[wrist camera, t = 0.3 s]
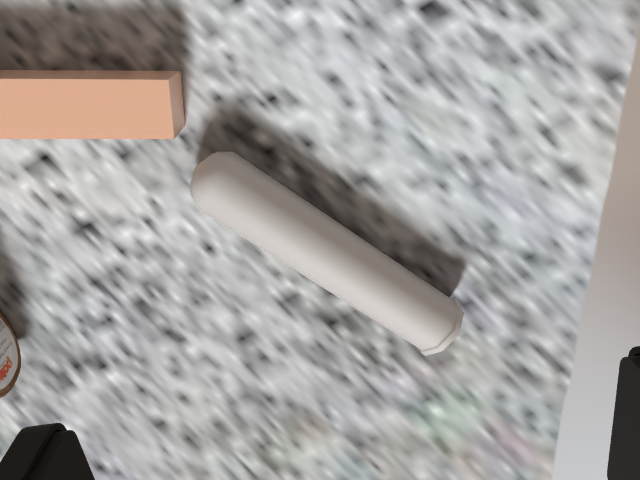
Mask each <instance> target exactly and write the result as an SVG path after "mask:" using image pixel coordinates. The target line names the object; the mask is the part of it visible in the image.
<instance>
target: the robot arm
mask: <svg viewBox="0 0 640 480" xmlns="http://www.w3.org/2000/svg"><path fill="white" fill-rule="evenodd" d="M607 477H608V480H640V346H638V347H634V348H632V349H631V350H630V352H629V355H628V357H624V358H622V360H621V362H620V367H619V376H618V384H617V393H616V402H615V410H614V419H613V427H612V435H611V444H610V452H609V462H608V470H607ZM0 480H95V479H94V476H93V474H92V472H91V469H90V467H89V464H88V462H87V459H86V457H85V455H84V452H83V450H82V447H81V445H80V443H79V440H78V438H77V435H76V434H75V432H74V431H72V430H66V428H65V426H64V425H62V424H61V423H53V424H46V425H38V426H31V427H25V428H24V429H22V430H21V431H20V432H19V433H18V435H17V436H16V438H15V440H14V441H13V443H12V444H11V446H10V448H9V449H8V451H7V452H6V454H5V456H4V457H3V459H2V460H1V462H0Z"/></svg>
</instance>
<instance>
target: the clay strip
mask: <svg viewBox="0 0 640 480" xmlns="http://www.w3.org/2000/svg"><path fill="white" fill-rule="evenodd" d="M184 126H185V115H184V105H183V94H182V83H181V72H180V71H109V70H0V139H175V137H176V136H177V135H178V134H179V132H180V131H181V130H182V129H183V127H184Z"/></svg>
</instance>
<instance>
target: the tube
mask: <svg viewBox="0 0 640 480" xmlns="http://www.w3.org/2000/svg"><path fill="white" fill-rule="evenodd" d="M190 192H191V196H192V198H193V200H194V202H195V205H196V207H197V208H198V209H199V210H201V211H202V212H204V213H206V214H207V215H209V216H210V217H212V218H214V219H215V220H217V221H218V222H220V223H222V224H223V225H225V226H226V227H228V228H229V229H231V230H233V231H234V232H236V233H237V234H239V235H241V236H242V237H244V238H245V239H247V240H248V241H250V242H252V243H253V244H255V245H256V246H258V247H260V248H261V249H263V250H264V251H266V252H268V253H269V254H271V255H272V256H274V257H275V258H277V259H279V260H280V261H282V262H283V263H285V264H287V265H288V266H290V267H291V268H293V269H294V270H296V271H298V272H299V273H301V274H302V275H304V276H306V277H307V278H309V279H310V280H312V281H314V282H315V283H317V284H318V285H320V286H321V287H323V288H325V289H326V290H328V291H329V292H331V293H333V294H334V295H336V296H337V297H339V298H340V299H342V300H344V301H345V302H347V303H348V304H350V305H352V306H353V307H355V308H356V309H358V310H360V311H361V312H363V313H364V314H366V315H367V316H369V317H371V318H372V319H374V320H375V321H377V322H379V323H380V324H382V325H383V326H385V327H386V328H388V329H390V330H391V331H393V332H394V333H396V334H398V335H399V336H401V337H402V338H404V339H406V340H407V341H409V342H410V343H412V344H413V345H415V346H417V347H418V348H420V349H421V353H422V354H424V355H425V356H426V355H430V354H434V353H437V352H441V351H443V350H444V349H445V348H446V347H447V346H448V345H449V344H450V343H451V342H452V341H453V340H454V339H455V338H456V337H457V336H458V335H459V332H460V328H461V323H462V319H463V314H464V312H463V310H462V308H461V306H460V304H459V302H458V300H457V299H455V298H454V297H452V298H449V297H448V296H446V295H445V294H443V293H442V292H440V291H439V290H437V289H436V288H434V287H433V286H431V285H430V284H428V283H427V282H425V281H424V280H422V279H421V278H419V277H418V276H416V275H415V274H413V273H412V272H411V271H409V270H408V269H406V268H405V267H403V266H402V265H400V264H399V263H397V262H396V261H394V260H393V259H391V258H390V257H388V256H387V255H385V254H384V253H382V252H381V251H379V250H378V249H377V248H375V247H374V246H372V245H371V244H369V243H368V242H366V241H365V240H363V239H362V238H360V237H359V236H357V235H356V234H354V233H353V232H351V231H350V230H348V229H347V228H345V227H344V226H342V225H341V224H340V223H338V222H337V221H335V220H334V219H332V218H331V217H329V216H328V215H326V214H325V213H323V212H322V211H320V210H319V209H317V208H316V207H314V206H313V205H311V204H310V203H308V202H307V201H306V200H304V199H303V198H301V197H300V196H298V195H297V194H295V193H294V192H292V191H291V190H289V189H288V188H286V187H285V186H283V185H282V184H280V183H279V182H277V181H276V180H274V179H273V178H271V177H270V176H269V175H267V174H266V173H264V172H263V171H261V170H260V169H258V168H257V167H255V166H254V165H252V164H251V163H249V162H248V161H246V160H245V159H243V158H242V157H240V156H239V155H237V154H236V153H234V152H216V153H213V154H211V155H210V156H208V157H207V158H206V159H205V160H203V161H202V162H201V163H200V164H198V165H197V166H196V167H195V170H194V173H193V177H192V180H191V184H190Z"/></svg>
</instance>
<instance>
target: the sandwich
mask: <svg viewBox="0 0 640 480" xmlns="http://www.w3.org/2000/svg"><path fill="white" fill-rule="evenodd" d="M20 368H21V355H20V349H19V345H18V341H17V339H16V336H15V334H14V332H13V330H12V328H11V327H10V325H9V324H8V322H7V321H6V319H5V318H4V316H3V315H2V314H1V312H0V398H1V397H3V396H5V395H6V394H7V393H8V392H9V391H10V390H11V389H12V388H13V386H14V384H15V382H16V380H17V377H18V375H19V372H20Z"/></svg>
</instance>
